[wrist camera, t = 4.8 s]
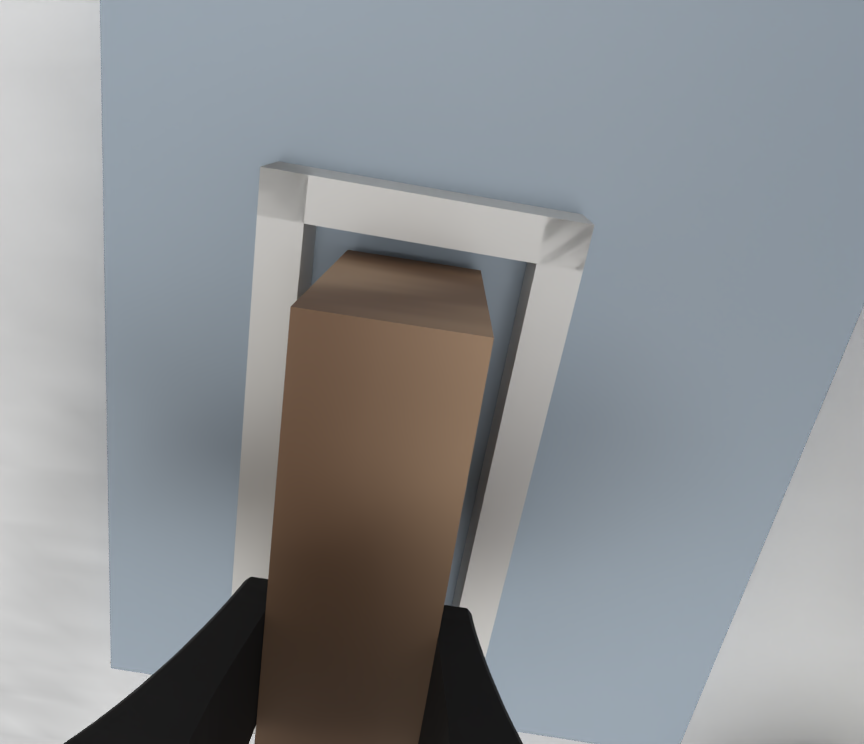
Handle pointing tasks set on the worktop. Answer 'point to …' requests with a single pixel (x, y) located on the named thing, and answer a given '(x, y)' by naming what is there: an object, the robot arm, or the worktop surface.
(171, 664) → the robot arm
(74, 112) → the worktop surface
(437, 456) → the wooden block
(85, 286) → the worktop surface
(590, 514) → the wall board
